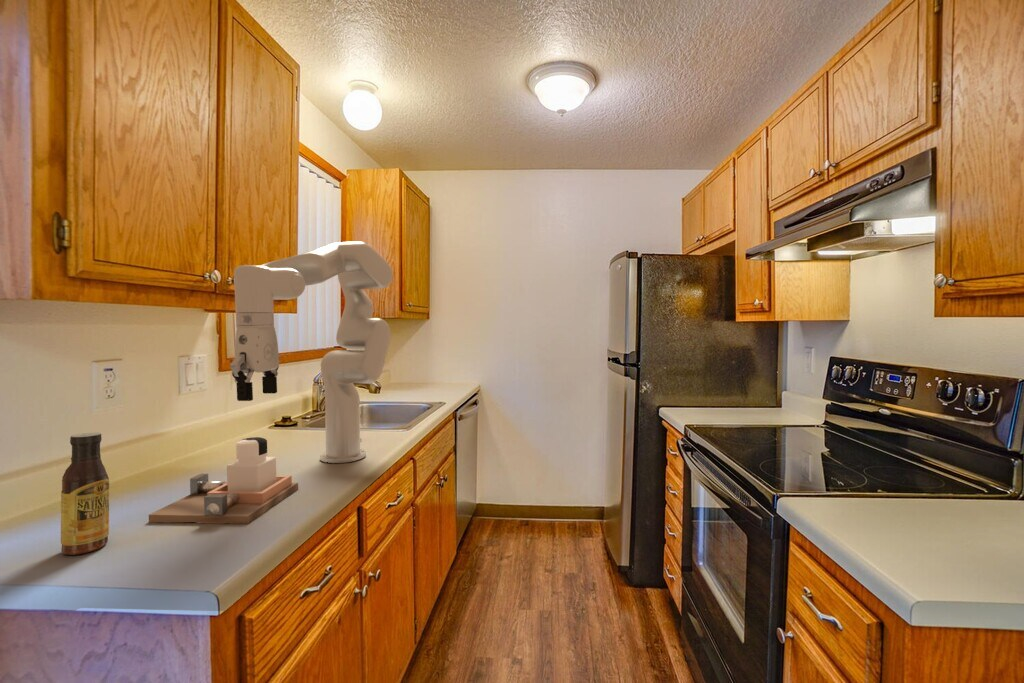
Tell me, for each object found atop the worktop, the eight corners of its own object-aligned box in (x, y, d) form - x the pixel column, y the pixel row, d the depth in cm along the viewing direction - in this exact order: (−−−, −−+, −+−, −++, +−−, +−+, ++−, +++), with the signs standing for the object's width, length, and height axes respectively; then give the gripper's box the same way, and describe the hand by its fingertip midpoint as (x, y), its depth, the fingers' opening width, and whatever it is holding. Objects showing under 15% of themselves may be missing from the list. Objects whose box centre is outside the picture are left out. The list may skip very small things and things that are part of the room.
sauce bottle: (80, 559, 79) (76, 440, 78) (50, 555, 80) (47, 438, 79) (120, 541, 85) (117, 431, 85) (92, 538, 86) (89, 430, 86)
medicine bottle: (247, 486, 110) (246, 435, 110) (277, 487, 109) (276, 435, 109) (227, 497, 103) (225, 442, 102) (258, 498, 102) (257, 443, 102)
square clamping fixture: (216, 488, 113) (215, 466, 113) (298, 488, 113) (297, 467, 112) (148, 522, 93) (148, 496, 93) (247, 523, 93) (247, 497, 92)
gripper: (248, 321, 98) (251, 403, 99) (291, 320, 115) (293, 390, 116) (213, 321, 98) (216, 403, 99) (260, 320, 115) (263, 390, 116)
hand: (258, 396), depth 107 cm, fingers open, 9 cm apart
